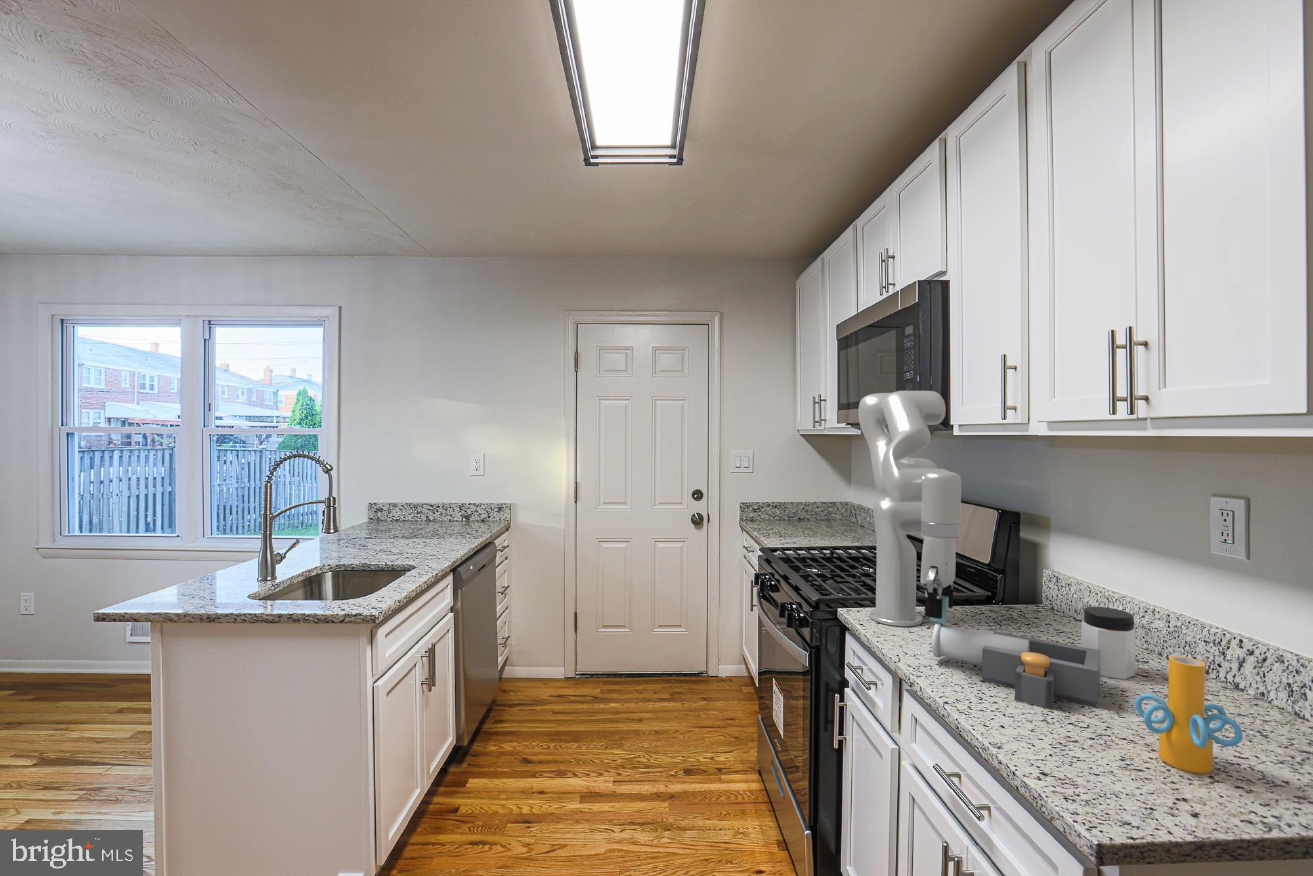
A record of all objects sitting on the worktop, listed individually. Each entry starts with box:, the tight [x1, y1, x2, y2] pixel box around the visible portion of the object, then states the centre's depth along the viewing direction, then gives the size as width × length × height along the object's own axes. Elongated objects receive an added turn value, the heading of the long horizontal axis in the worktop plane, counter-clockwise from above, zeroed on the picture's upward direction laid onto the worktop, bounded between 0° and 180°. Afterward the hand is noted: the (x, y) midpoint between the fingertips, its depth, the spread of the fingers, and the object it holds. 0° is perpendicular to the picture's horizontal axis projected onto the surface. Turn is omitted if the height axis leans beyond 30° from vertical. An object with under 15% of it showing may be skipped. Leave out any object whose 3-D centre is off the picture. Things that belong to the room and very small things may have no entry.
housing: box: [981, 630, 1101, 710], centre depth 116 cm, size 19×18×6 cm
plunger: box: [1021, 652, 1050, 677], centre depth 111 cm, size 4×4×7 cm
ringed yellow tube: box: [1134, 655, 1244, 774], centre depth 90 cm, size 12×10×15 cm
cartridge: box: [929, 596, 1030, 665], centre depth 125 cm, size 7×18×13 cm, turn 53°
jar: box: [1080, 606, 1137, 681], centre depth 125 cm, size 9×8×12 cm
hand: (939, 611), depth 129 cm, fingers open, 9 cm apart
